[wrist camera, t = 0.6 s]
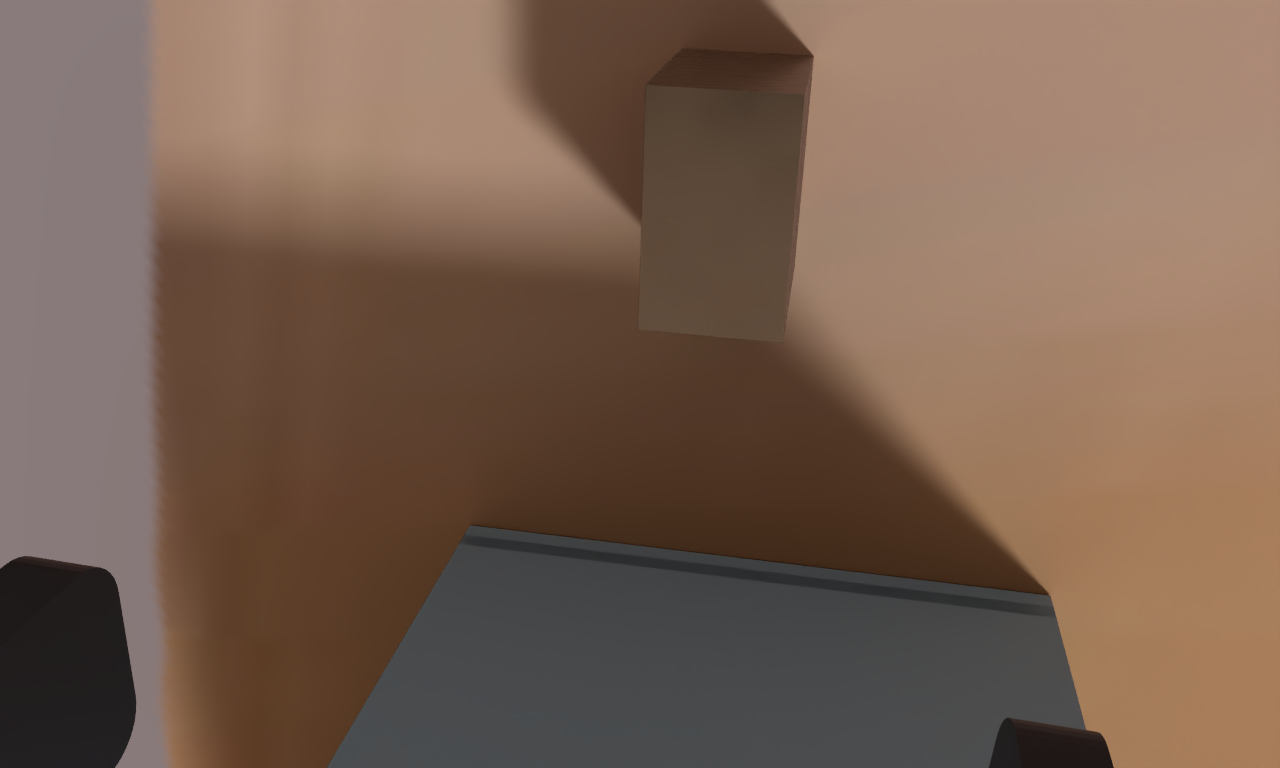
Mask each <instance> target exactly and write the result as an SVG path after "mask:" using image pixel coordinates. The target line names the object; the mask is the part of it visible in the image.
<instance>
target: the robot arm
mask: <svg viewBox="0 0 1280 768" xmlns="http://www.w3.org/2000/svg"><path fill="white" fill-rule="evenodd" d="M135 714H136V695H135V689H134V683H133V677H132V671H131V666H130V659H129V653H128V647H127V640H126V634H125V628H124V622H123V616H122V610H121V604H120V597H119V592H118V587H117V584H116V581H115V579H114V577H113V576H112V575H111V573H110V572H108V571H107V570H105V569H102V568H99V567H93V566H87V565H80V564H74V563H68V562H62V561H56V560H49V559H43V558H37V557H30V556H23V557H19V558H16V559H14V560H12V561H10V562H9V563H7V564H6V565H4V566H3V567H2V568H1V569H0V768H115V766H116V765H117V764H118V762H119V760H120V759H121V757H122V755H123V753H124V751H125V749H126V747H127V745H128V742H129V739H130V737H131V733H132V730H133V726H134V721H135ZM989 768H1114V767H1113V764H1112V760H1111V757H1110V753H1109V750H1108V747H1107V744H1106V741H1105V739H1104V738H1103V736H1102V735H1101V734H1100V733H1098V732H1094V731H1088V730H1082V729H1076V728H1070V727H1064V726H1057V725H1051V724H1045V723H1039V722H1033V721H1027V720H1020V719H1014V718H1005V719H1004V720H1003V722H1002V724H1001V726H1000V728H999V731H998V734H997V738H996V741H995V745H994V749H993V753H992V757H991V761H990V765H989Z"/></svg>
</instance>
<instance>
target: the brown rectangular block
mask: <svg viewBox="0 0 1280 768" xmlns="http://www.w3.org/2000/svg"><path fill="white" fill-rule="evenodd" d="M813 59H814V56H807V55H789V54H772V53H754V52H736V51H718V50H700V49H683V48H682V49H681V50H680V51H679V52H678V53H677V54H676V55H675V56H674V57H673V58H672V59H671V60H670V61H669V62H668V63H667V64H666V65H665V66H664V67H663V68H662V69H661V70H660V71H659V72H658V73H657V74H656V75H655V76H654V77H653V78H652V79H651V80H650V81H649V82H648V83H647V84H646V94H645V126H644V158H643V190H642V222H641V254H640V287H639V319H638V330H647V331H658V332H669V333H680V334H690V335H701V336H712V337H723V338H734V339H744V340H755V341H766V342H777V343H783V338H784V331H785V325H786V318H787V312H788V305H789V299H790V293H791V286H792V280H793V273H794V267H795V256H796V245H797V234H798V223H799V212H800V201H801V190H802V179H803V168H804V157H805V146H806V135H807V125H808V114H809V103H810V92H811V81H812V70H813Z"/></svg>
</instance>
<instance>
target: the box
mask: <svg viewBox="0 0 1280 768" xmlns="http://www.w3.org/2000/svg"><path fill="white" fill-rule="evenodd" d="M1005 718H1014V719H1020V720H1027V721H1033V722H1039V723H1045V724H1051V725H1057V726H1064V727H1070V728H1076V729H1082V730H1086V728H1085V724H1084V720H1083V716H1082V713H1081V709H1080V705H1079V701H1078V697H1077V694H1076V690H1075V686H1074V682H1073V679H1072V675H1071V671H1070V667H1069V664H1068V660H1067V656H1066V652H1065V649H1064V645H1063V641H1062V637H1061V634H1060V630H1059V626H1058V622H1057V619H1056V615H1055V611H1054V607H1053V603H1052V600H1051V596H1049V595H1041V594H1033V593H1024V592H1016V591H1008V590H1000V589H991V588H983V587H975V586H967V585H958V584H950V583H942V582H934V581H926V580H917V579H909V578H901V577H893V576H884V575H876V574H868V573H860V572H851V571H843V570H835V569H827V568H818V567H810V566H802V565H794V564H785V563H777V562H769V561H761V560H752V559H744V558H736V557H728V556H719V555H711V554H703V553H695V552H686V551H678V550H670V549H662V548H653V547H645V546H637V545H629V544H620V543H612V542H604V541H596V540H587V539H579V538H571V537H563V536H555V535H546V534H538V533H530V532H522V531H513V530H505V529H497V528H489V527H480V526H472V525H470V526H469V528H468V530H467V531H466V533H465V535H464V536H463V538H462V540H461V541H460V543H459V545H458V547H457V548H456V550H455V552H454V553H453V555H452V557H451V558H450V560H449V562H448V563H447V565H446V567H445V569H444V570H443V572H442V574H441V575H440V577H439V579H438V580H437V582H436V584H435V585H434V587H433V589H432V591H431V592H430V594H429V596H428V597H427V599H426V601H425V602H424V604H423V606H422V607H421V609H420V611H419V613H418V614H417V616H416V618H415V619H414V621H413V623H412V624H411V626H410V628H409V630H408V631H407V633H406V635H405V636H404V638H403V640H402V641H401V643H400V645H399V646H398V648H397V650H396V652H395V653H394V655H393V657H392V658H391V660H390V662H389V663H388V665H387V667H386V668H385V670H384V672H383V674H382V675H381V677H380V679H379V680H378V682H377V684H376V685H375V687H374V689H373V690H372V692H371V694H370V696H369V697H368V699H367V701H366V702H365V704H364V706H363V707H362V709H361V711H360V712H359V714H358V716H357V718H356V719H355V721H354V723H353V724H352V726H351V728H350V729H349V731H348V733H347V735H346V736H345V738H344V740H343V741H342V743H341V745H340V746H339V748H338V750H337V751H336V753H335V755H334V757H333V758H332V760H331V762H330V763H329V765H328V767H327V768H989V765H990V761H991V757H992V753H993V749H994V745H995V741H996V738H997V734H998V731H999V728H1000V726H1001V724H1002V722H1003V720H1004V719H1005Z"/></svg>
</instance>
